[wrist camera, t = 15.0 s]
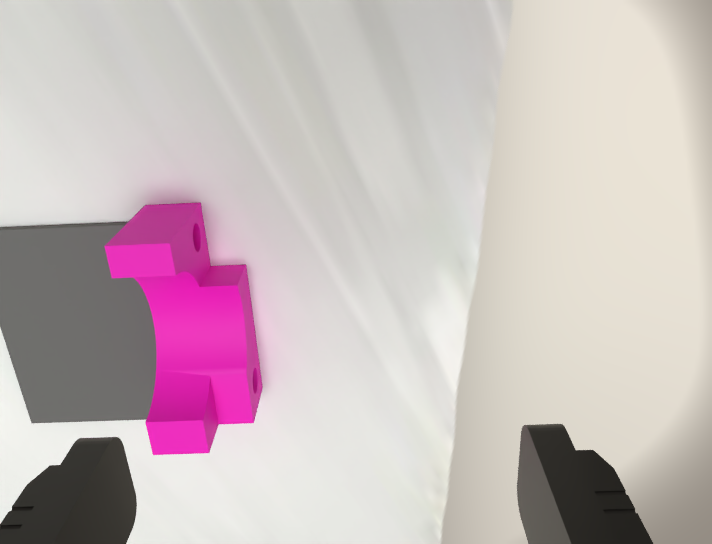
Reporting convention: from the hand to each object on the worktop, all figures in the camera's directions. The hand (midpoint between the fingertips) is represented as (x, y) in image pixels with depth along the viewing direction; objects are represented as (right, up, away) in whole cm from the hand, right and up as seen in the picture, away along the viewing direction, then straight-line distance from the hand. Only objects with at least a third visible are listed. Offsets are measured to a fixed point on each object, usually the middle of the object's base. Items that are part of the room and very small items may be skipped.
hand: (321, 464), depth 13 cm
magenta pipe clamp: (-10, +2, +33) cm, 34 cm away
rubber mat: (-19, 0, +33) cm, 38 cm away
